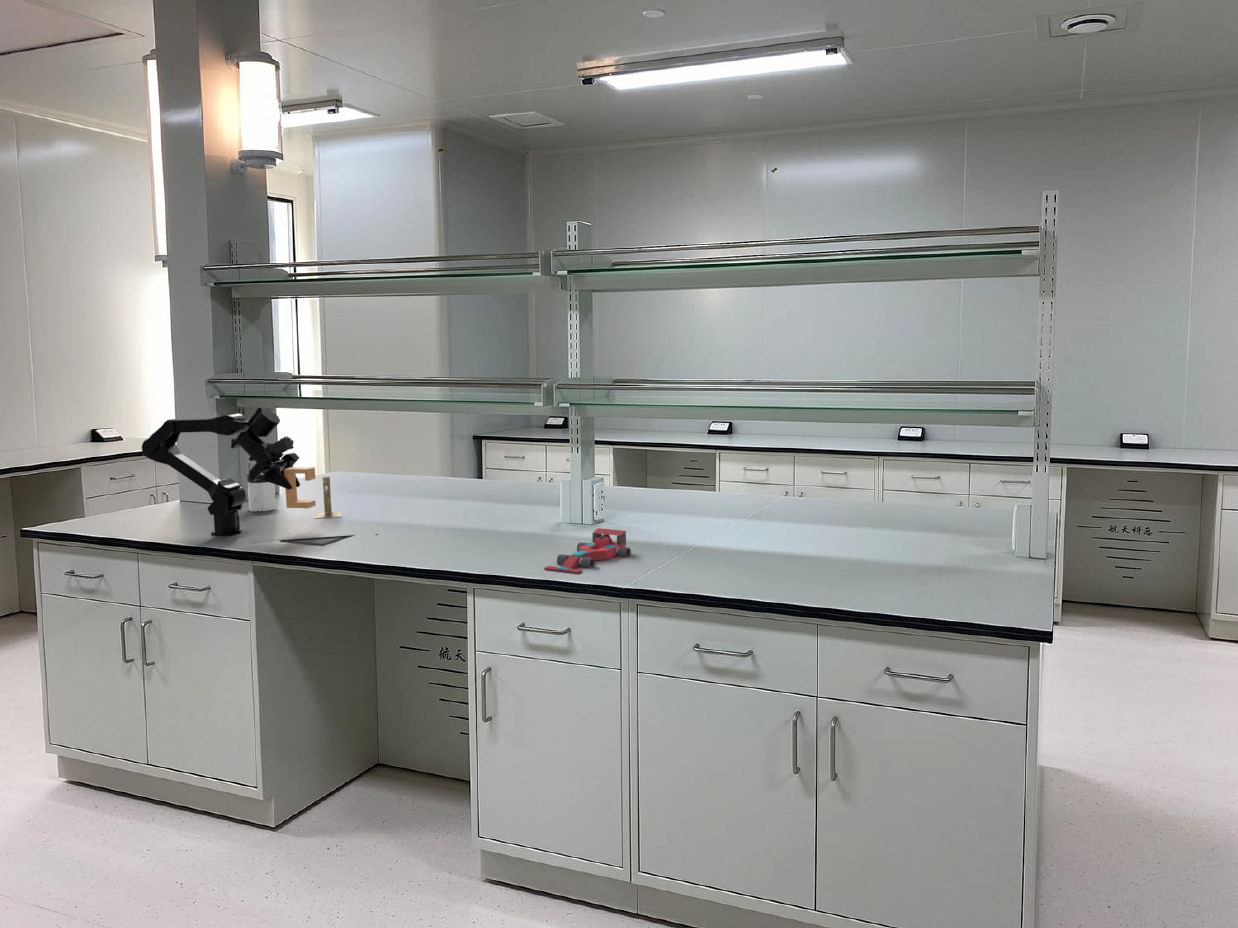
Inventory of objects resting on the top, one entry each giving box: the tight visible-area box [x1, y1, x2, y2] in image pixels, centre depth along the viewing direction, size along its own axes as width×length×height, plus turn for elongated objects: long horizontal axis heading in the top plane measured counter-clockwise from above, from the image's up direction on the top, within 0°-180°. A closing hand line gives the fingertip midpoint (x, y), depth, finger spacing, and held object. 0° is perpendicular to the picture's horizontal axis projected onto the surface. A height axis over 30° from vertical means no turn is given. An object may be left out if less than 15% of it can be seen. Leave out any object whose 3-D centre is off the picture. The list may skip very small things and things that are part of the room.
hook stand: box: [313, 476, 343, 520], centre depth 294 cm, size 8×20×13 cm, turn 16°
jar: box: [246, 472, 277, 513], centre depth 317 cm, size 9×8×12 cm
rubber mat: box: [280, 534, 355, 546], centre depth 271 cm, size 14×14×1 cm
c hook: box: [284, 466, 316, 509], centre depth 274 cm, size 7×4×11 cm, turn 80°
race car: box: [543, 527, 632, 574], centre depth 240 cm, size 14×6×25 cm
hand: (295, 487), depth 274 cm, fingers closed on c hook, 4 cm apart
